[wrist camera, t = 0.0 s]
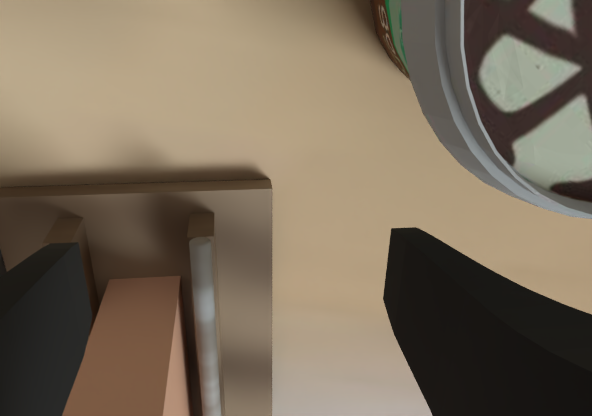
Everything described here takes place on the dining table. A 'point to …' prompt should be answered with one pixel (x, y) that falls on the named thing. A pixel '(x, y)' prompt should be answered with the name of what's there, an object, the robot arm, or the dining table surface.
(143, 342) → the tan flat block
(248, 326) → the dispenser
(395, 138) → the dining table surface
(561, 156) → the food container
